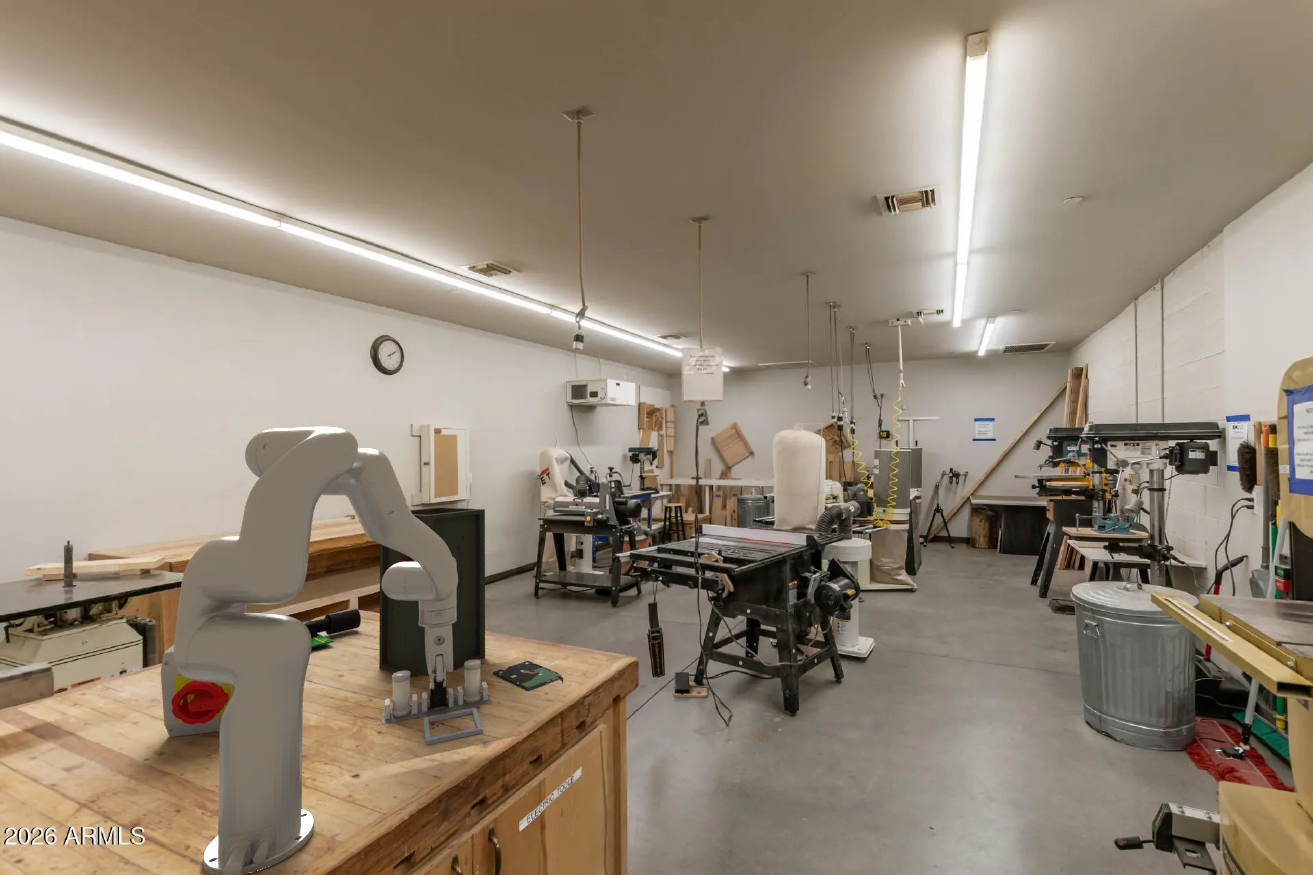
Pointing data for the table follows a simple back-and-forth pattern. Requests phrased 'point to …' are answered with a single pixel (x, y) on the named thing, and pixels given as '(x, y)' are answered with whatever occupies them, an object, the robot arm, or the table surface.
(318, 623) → the electronic board model
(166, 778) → the table surface
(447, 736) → the tray
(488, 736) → the table surface
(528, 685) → the disk drive
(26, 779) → the table surface
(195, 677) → the robot arm
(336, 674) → the table surface
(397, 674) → the domed white capsule
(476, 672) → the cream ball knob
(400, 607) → the first aid box
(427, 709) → the fuse holder
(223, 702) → the electrical switch box
